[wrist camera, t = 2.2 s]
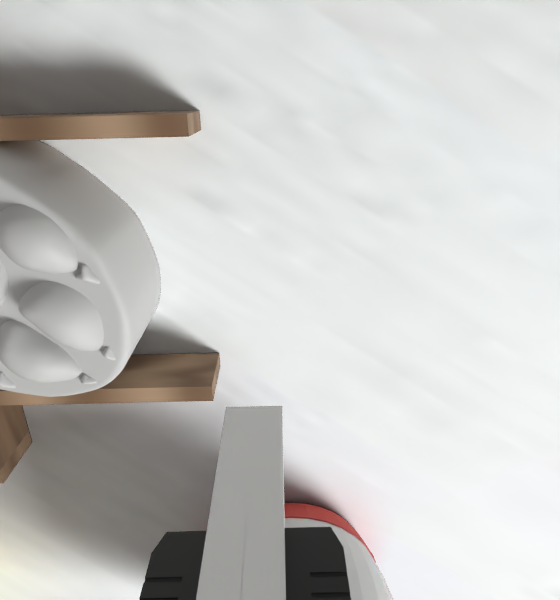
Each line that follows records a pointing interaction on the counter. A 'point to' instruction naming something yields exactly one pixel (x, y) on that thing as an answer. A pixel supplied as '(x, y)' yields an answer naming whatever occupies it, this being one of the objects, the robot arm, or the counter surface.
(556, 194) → the counter surface
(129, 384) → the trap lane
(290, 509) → the citrus juicer
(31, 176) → the lumpy-topped squat cylinder
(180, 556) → the robot arm
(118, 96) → the counter surface
